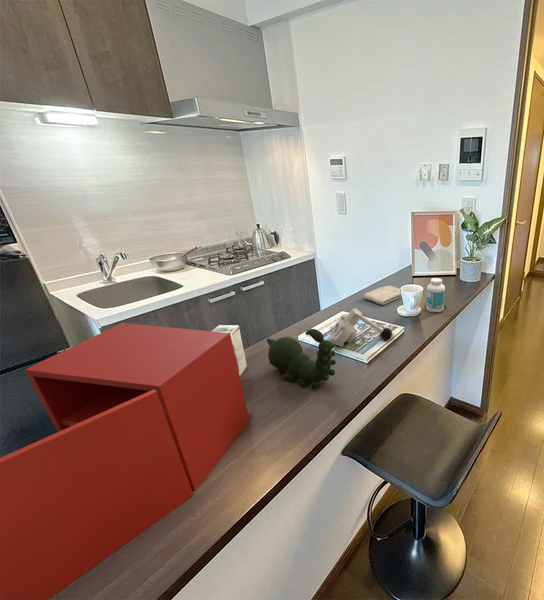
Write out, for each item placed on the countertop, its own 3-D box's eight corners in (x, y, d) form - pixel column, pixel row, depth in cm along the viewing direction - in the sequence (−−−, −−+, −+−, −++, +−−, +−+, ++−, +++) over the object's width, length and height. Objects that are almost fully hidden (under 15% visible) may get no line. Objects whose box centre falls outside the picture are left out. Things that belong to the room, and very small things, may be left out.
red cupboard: (195, 490, 62) (159, 386, 52) (77, 470, 65) (24, 369, 56) (250, 422, 78) (230, 332, 68) (153, 409, 82) (122, 322, 72)
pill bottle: (446, 308, 140) (448, 278, 135) (440, 314, 134) (442, 283, 129) (429, 304, 143) (431, 275, 138) (423, 311, 137) (424, 281, 132)
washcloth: (408, 295, 153) (408, 289, 152) (382, 307, 140) (382, 300, 139) (389, 289, 160) (389, 283, 159) (363, 300, 147) (363, 293, 146)
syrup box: (219, 378, 94) (208, 333, 88) (229, 366, 99) (219, 323, 93) (239, 378, 94) (229, 333, 88) (247, 366, 99) (239, 324, 94)
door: (209, 514, 57) (172, 407, 48) (-24, 696, 38) (-163, 575, 28) (191, 492, 61) (154, 388, 52) (-30, 647, 42) (-154, 526, 32)
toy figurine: (342, 385, 94) (281, 354, 104) (342, 329, 85) (276, 301, 96) (319, 405, 86) (256, 369, 97) (317, 345, 78) (248, 313, 89)
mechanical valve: (327, 329, 115) (353, 299, 112) (366, 352, 123) (392, 324, 119) (326, 345, 106) (355, 313, 103) (368, 369, 114) (396, 340, 110)
